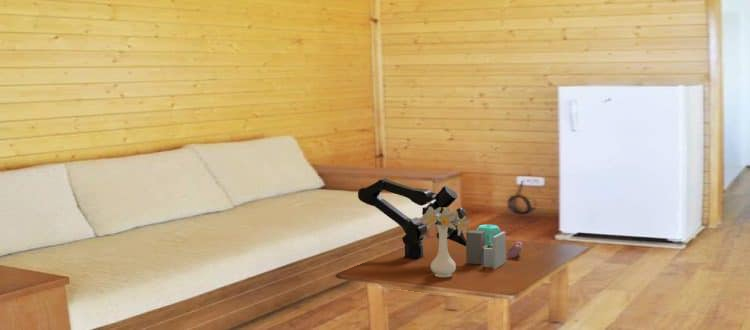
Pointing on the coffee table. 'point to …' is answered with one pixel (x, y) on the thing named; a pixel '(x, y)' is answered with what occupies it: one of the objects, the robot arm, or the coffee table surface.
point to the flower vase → (444, 238)
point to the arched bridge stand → (496, 251)
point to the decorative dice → (489, 232)
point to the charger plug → (475, 247)
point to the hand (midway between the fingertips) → (466, 245)
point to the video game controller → (515, 250)
